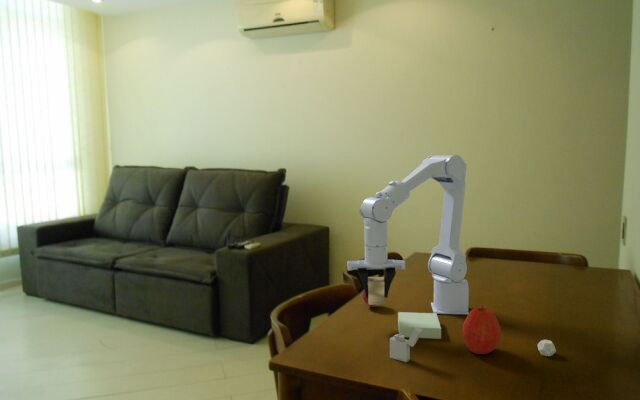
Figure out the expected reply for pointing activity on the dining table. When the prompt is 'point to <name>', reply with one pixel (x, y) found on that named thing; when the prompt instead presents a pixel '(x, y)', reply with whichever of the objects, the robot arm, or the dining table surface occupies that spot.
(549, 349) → the game die
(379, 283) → the beech block
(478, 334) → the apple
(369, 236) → the robot arm
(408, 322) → the stacking block
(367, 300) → the onion
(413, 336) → the lighter
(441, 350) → the dining table surface
